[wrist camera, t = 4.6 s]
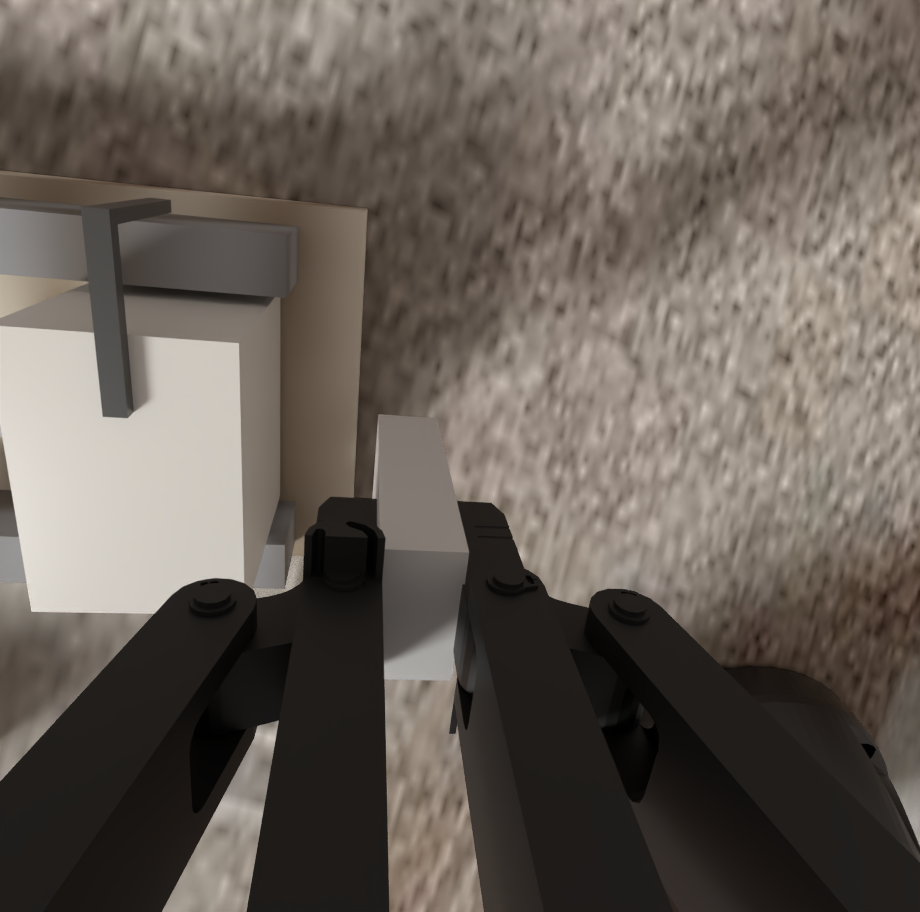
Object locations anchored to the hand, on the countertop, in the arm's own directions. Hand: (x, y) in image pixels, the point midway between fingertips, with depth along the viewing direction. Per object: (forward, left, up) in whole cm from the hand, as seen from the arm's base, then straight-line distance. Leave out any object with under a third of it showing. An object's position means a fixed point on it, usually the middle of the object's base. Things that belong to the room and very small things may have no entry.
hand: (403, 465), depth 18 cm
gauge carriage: (+8, -1, -5) cm, 10 cm away
